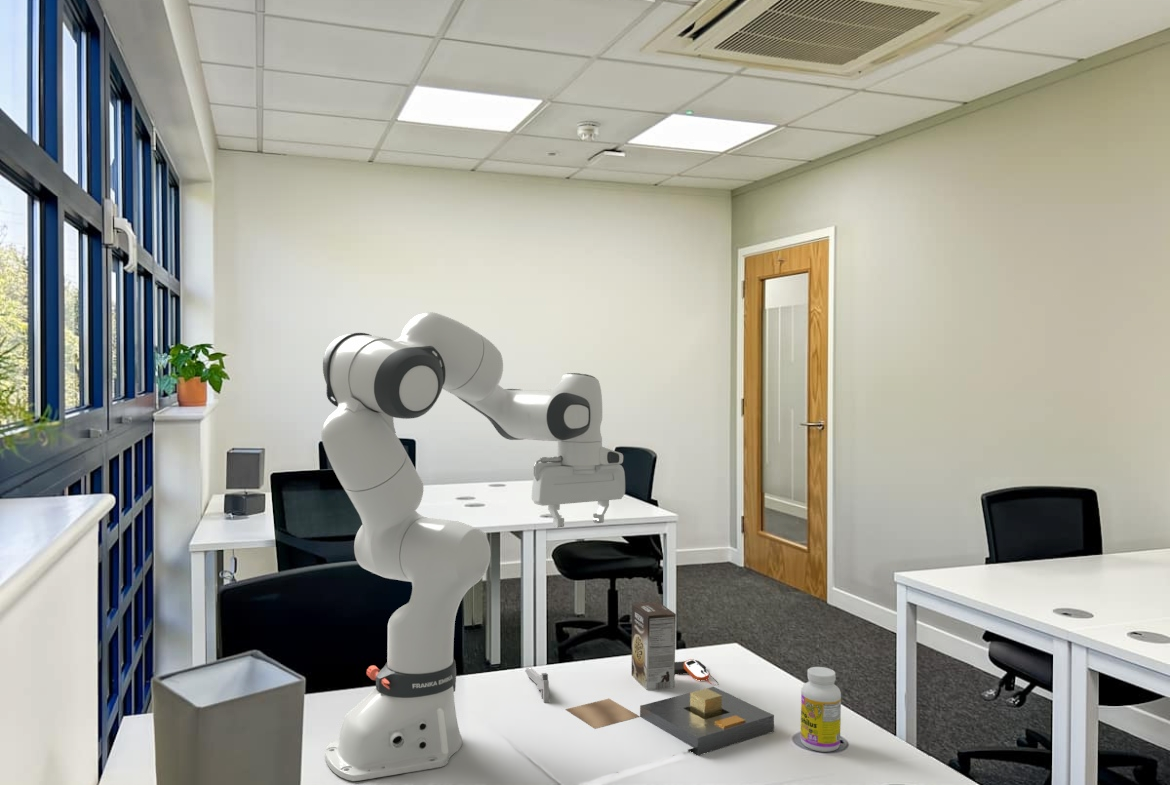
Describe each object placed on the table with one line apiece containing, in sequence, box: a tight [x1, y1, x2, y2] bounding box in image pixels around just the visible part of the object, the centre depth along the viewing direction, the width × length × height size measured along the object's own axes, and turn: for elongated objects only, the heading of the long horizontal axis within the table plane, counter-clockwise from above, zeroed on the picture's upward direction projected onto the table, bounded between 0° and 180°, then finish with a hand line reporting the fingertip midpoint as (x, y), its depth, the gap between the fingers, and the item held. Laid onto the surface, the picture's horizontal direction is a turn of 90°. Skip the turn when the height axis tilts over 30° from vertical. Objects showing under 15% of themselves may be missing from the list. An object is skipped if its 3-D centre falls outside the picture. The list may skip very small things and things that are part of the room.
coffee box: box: [631, 601, 677, 691], centre depth 169 cm, size 9×6×16 cm
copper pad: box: [565, 698, 641, 730], centre depth 152 cm, size 10×10×1 cm
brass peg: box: [689, 687, 722, 720], centre depth 149 cm, size 4×4×6 cm
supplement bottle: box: [800, 666, 842, 753], centre depth 142 cm, size 7×7×13 cm
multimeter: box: [675, 658, 719, 685], centre depth 173 cm, size 18×12×3 cm, turn 10°
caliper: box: [524, 667, 550, 704], centre depth 167 cm, size 20×1×6 cm, turn 14°
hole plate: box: [639, 686, 775, 756], centre depth 149 cm, size 18×16×3 cm
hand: (578, 524), depth 163 cm, fingers open, 8 cm apart
